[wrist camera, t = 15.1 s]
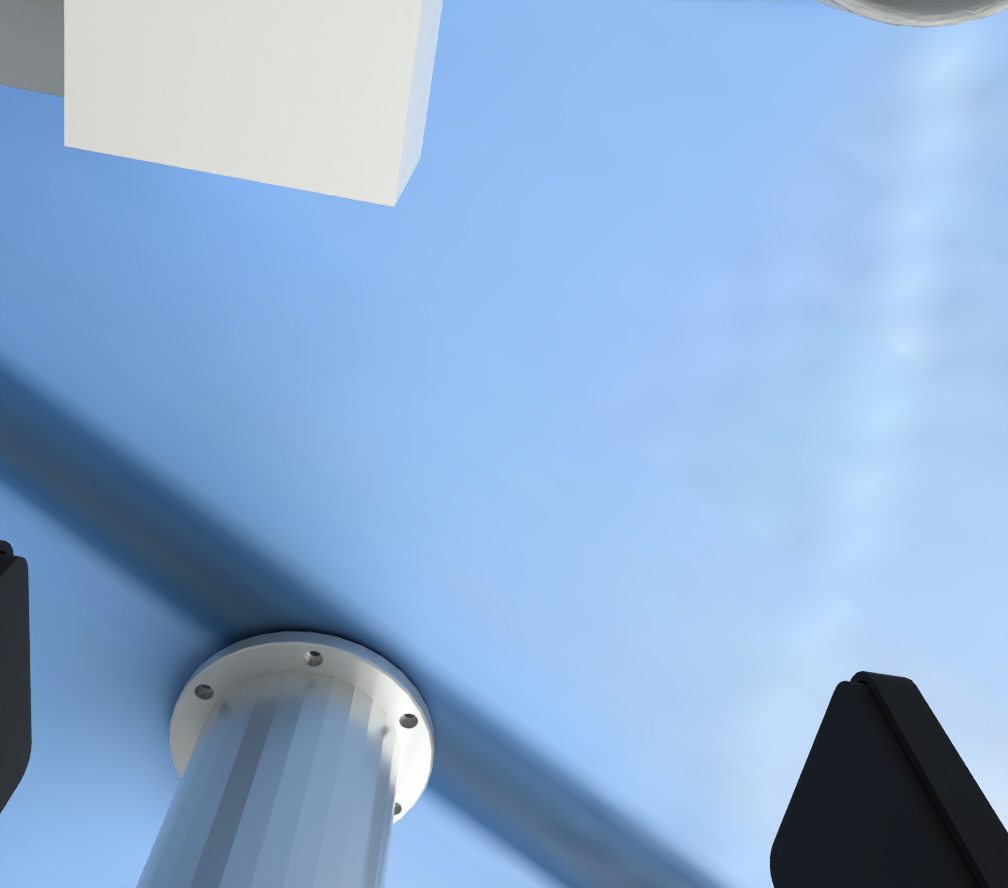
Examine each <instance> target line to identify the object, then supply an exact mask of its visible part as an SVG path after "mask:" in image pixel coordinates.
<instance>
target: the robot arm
mask: <svg viewBox="0 0 1008 888" xmlns="http://www.w3.org/2000/svg"><path fill="white" fill-rule="evenodd" d="M31 744H32V740H31V689H30V638H29V588H28V565H27V562H26V559H25V558H23V557H19V556H14V554H13V549H12V547H11V545H10V544H9V543H8V542H7V541H2V540H0V813H1V812H2V810H3V808H4V807H5V805H6V804H7V802H8V800H9V799H10V797H11V796H12V794H13V792H14V791H15V789H16V788H17V786H18V784H19V783H20V781H21V779H22V777H23V775H24V773H25V771H26V768H27V765H28V762H29V758H30V753H31ZM169 746H170V751H171V756H172V762H173V764H174V766H175V769H176V771H177V773H178V775H179V778H180V783H179V785H178V788H177V790H176V792H175V795H174V797H173V800H172V802H171V804H170V807H169V809H168V812H167V814H166V816H165V819H164V821H163V824H162V826H161V829H160V831H159V833H158V836H157V838H156V841H155V843H154V845H153V848H152V850H151V853H150V855H149V858H148V860H147V862H146V865H145V867H144V870H143V872H142V874H141V877H140V879H139V882H138V884H137V886H136V888H384V887H385V880H386V872H387V864H388V856H389V849H390V841H391V833H392V826H393V824H395V823H396V822H397V821H399V820H400V819H402V818H403V817H404V816H405V815H406V814H407V813H408V812H409V811H410V810H411V808H412V807H413V806H414V805H415V804H416V803H417V801H418V800H419V798H420V796H421V795H422V793H423V792H424V790H425V788H426V786H427V783H428V780H429V777H430V774H431V771H432V767H433V758H434V749H435V745H434V728H433V724H432V721H431V717H430V714H429V710H428V708H427V706H426V704H425V702H424V701H423V699H422V697H421V695H420V693H419V692H418V690H417V689H416V688H415V686H414V685H413V684H412V683H411V682H410V681H409V679H408V678H407V677H406V676H405V675H404V674H403V672H401V671H400V670H399V669H398V668H396V667H395V666H394V665H393V664H391V663H390V662H389V661H388V660H386V659H385V658H384V657H382V656H380V655H378V654H376V653H375V652H373V651H371V650H369V649H367V648H366V647H364V646H362V645H359V644H356V643H353V642H351V641H348V640H345V639H342V638H339V637H335V636H330V635H325V634H319V633H314V632H292V631H284V632H277V633H269V634H262V635H258V636H254V637H251V638H248V639H245V640H241V641H238V642H236V643H234V644H232V645H230V646H228V647H226V648H224V649H222V650H221V651H219V652H217V653H215V654H214V655H213V656H212V657H210V658H209V659H208V660H207V661H205V662H204V663H203V664H202V665H200V666H199V667H198V669H197V670H196V671H195V672H194V674H193V675H192V676H191V677H190V679H189V680H188V681H187V683H186V684H185V686H184V688H183V690H182V692H181V694H180V696H179V698H178V700H177V702H176V705H175V708H174V711H173V714H172V717H171V720H170V729H169ZM770 872H771V878H772V882H773V885H774V888H1008V832H1007V831H1006V829H1005V828H1004V826H1003V824H1002V823H1001V821H1000V820H999V818H998V816H997V815H996V813H995V811H994V810H993V808H992V807H991V805H990V803H989V802H988V800H987V799H986V797H985V795H984V794H983V792H982V791H981V789H980V787H979V786H978V784H977V783H976V781H975V779H974V778H973V776H972V774H971V773H970V771H969V770H968V768H967V766H966V765H965V763H964V762H963V760H962V758H961V757H960V755H959V754H958V752H957V750H956V749H955V747H954V746H953V744H952V742H951V741H950V739H949V738H948V736H947V734H946V733H945V731H944V729H943V728H942V726H941V725H940V723H939V721H938V720H937V718H936V717H935V715H934V713H933V712H932V710H931V709H930V707H929V705H928V704H927V702H926V701H925V699H924V697H923V696H922V694H921V693H920V691H919V689H918V688H917V686H916V685H915V684H914V683H913V681H912V680H910V679H908V678H905V677H899V676H892V675H885V674H879V673H872V672H866V671H861V672H857V673H856V674H855V675H854V676H853V677H852V679H851V681H850V682H849V681H842V682H840V683H839V684H838V685H837V687H836V689H835V691H834V693H833V695H832V698H831V700H830V703H829V705H828V708H827V710H826V713H825V715H824V718H823V720H822V723H821V725H820V728H819V730H818V733H817V735H816V738H815V740H814V743H813V745H812V748H811V750H810V753H809V755H808V758H807V760H806V763H805V765H804V768H803V770H802V773H801V775H800V778H799V780H798V783H797V785H796V788H795V790H794V793H793V795H792V798H791V800H790V803H789V805H788V808H787V810H786V813H785V815H784V818H783V820H782V823H781V825H780V828H779V830H778V833H777V835H776V838H775V840H774V843H773V846H772V849H771V855H770Z"/></svg>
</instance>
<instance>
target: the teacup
mask: <svg viewBox="0 0 1008 888" xmlns="http://www.w3.org/2000/svg"><path fill="white" fill-rule="evenodd" d="M816 1H818V2H820V3H822V4H825V5H827V6H830V7H833V8H836V9H839V10H842V11H845V12H849V13H853V14H857V15H859V16H862V17H865V18H868V19H872V20H875V21H879V22H883V23H887V24H891V25H895V26H911V27H935V26H946V25H954V24H960V23H965V22H970V21H975V20H979V19H983V18H985V17H988V16H990V15H993V14H996V13H998V12H1001V11H1003V10H1006V9H1008V0H816Z"/></svg>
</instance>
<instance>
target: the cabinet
mask: <svg viewBox="0 0 1008 888" xmlns="http://www.w3.org/2000/svg"><path fill="white" fill-rule="evenodd" d="M442 6H443V0H64V142H65V146H67V147H73V148H78V149H84V150H89V151H95V152H100V153H105V154H111V155H116V156H122V157H127V158H133V159H138V160H143V161H149V162H154V163H160V164H165V165H170V166H176V167H181V168H187V169H192V170H198V171H203V172H208V173H214V174H219V175H225V176H230V177H236V178H241V179H246V180H252V181H257V182H263V183H268V184H274V185H279V186H284V187H290V188H295V189H301V190H306V191H312V192H317V193H322V194H328V195H333V196H339V197H344V198H350V199H355V200H360V201H366V202H371V203H377V204H382V205H388V206H393V207H394V206H395V204H396V202H397V201H398V199H399V197H400V195H401V193H402V191H403V189H404V188H405V186H406V184H407V182H408V180H409V178H410V176H411V175H412V173H413V171H414V169H415V167H416V165H417V163H418V162H419V160H420V158H421V151H422V145H423V138H424V131H425V124H426V117H427V110H428V103H429V96H430V89H431V82H432V75H433V68H434V61H435V54H436V47H437V41H438V34H439V27H440V20H441V13H442Z"/></svg>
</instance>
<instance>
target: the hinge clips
mask: <svg viewBox="0 0 1008 888" xmlns="http://www.w3.org/2000/svg"><path fill="white" fill-rule="evenodd" d="M0 85H4V86H9V87H15V88H20V89H25V90H31V91H36V92H41V93H46V94H52V95H57V96H62V97H64V0H0Z"/></svg>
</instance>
